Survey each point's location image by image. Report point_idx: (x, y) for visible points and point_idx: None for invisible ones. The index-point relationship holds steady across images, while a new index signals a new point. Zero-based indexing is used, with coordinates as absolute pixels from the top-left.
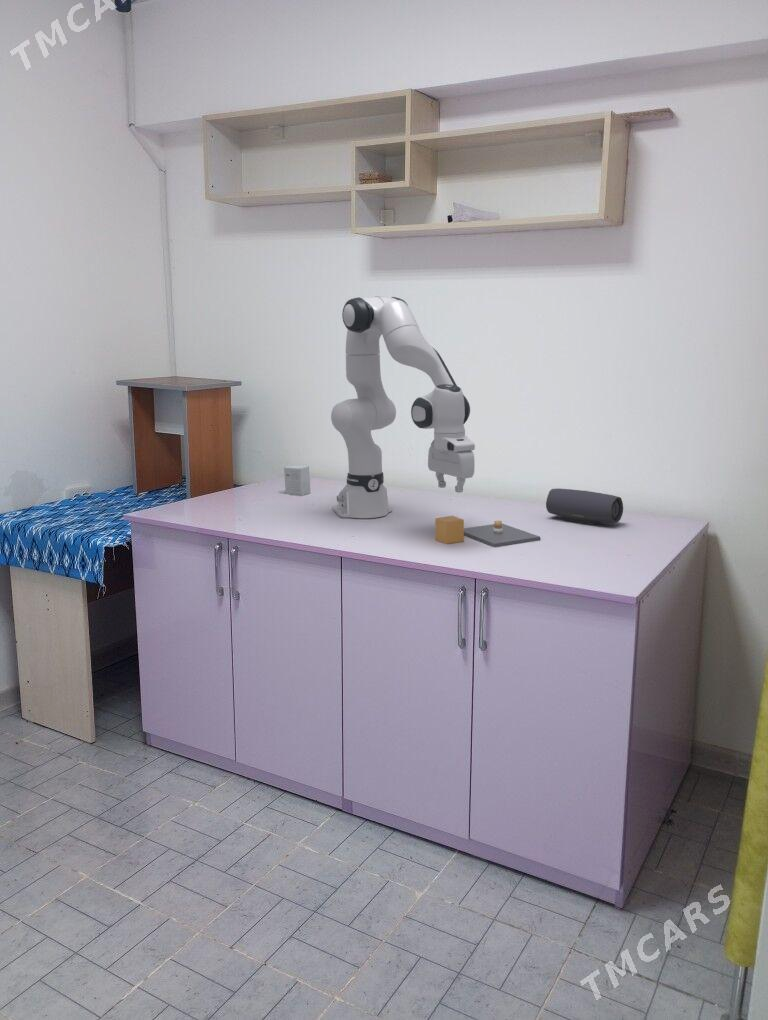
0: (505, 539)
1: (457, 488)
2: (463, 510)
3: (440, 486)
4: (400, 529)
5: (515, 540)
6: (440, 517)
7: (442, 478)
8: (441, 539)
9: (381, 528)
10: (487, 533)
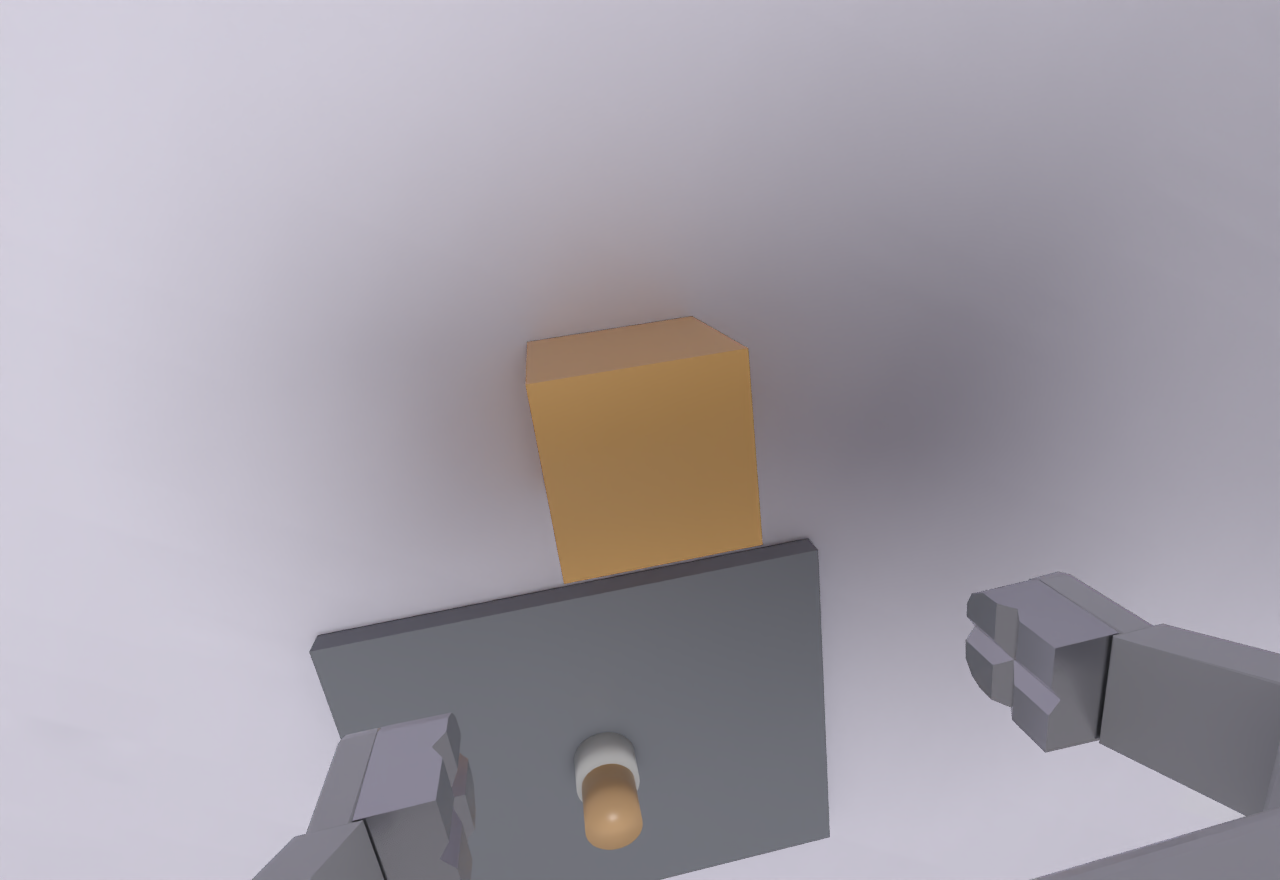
0: None
1: (323, 790)
2: None
3: (999, 594)
4: (1108, 170)
5: None
6: (748, 408)
7: (1181, 752)
8: (598, 334)
9: (1228, 21)
10: (618, 695)
